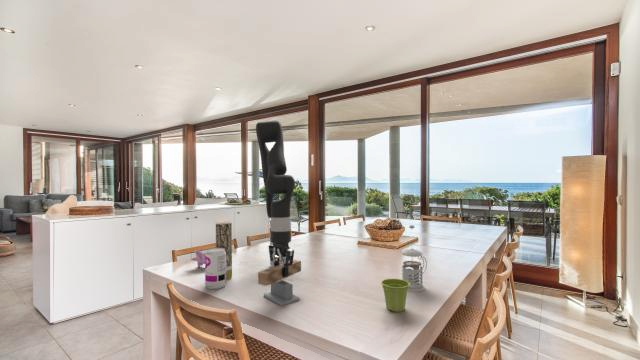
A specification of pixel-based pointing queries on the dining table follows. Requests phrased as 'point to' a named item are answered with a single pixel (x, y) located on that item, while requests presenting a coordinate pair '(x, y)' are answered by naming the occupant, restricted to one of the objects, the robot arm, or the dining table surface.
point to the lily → (199, 258)
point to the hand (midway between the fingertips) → (281, 275)
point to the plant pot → (395, 293)
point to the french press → (415, 272)
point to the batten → (277, 273)
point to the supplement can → (215, 268)
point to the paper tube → (225, 243)
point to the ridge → (281, 293)
